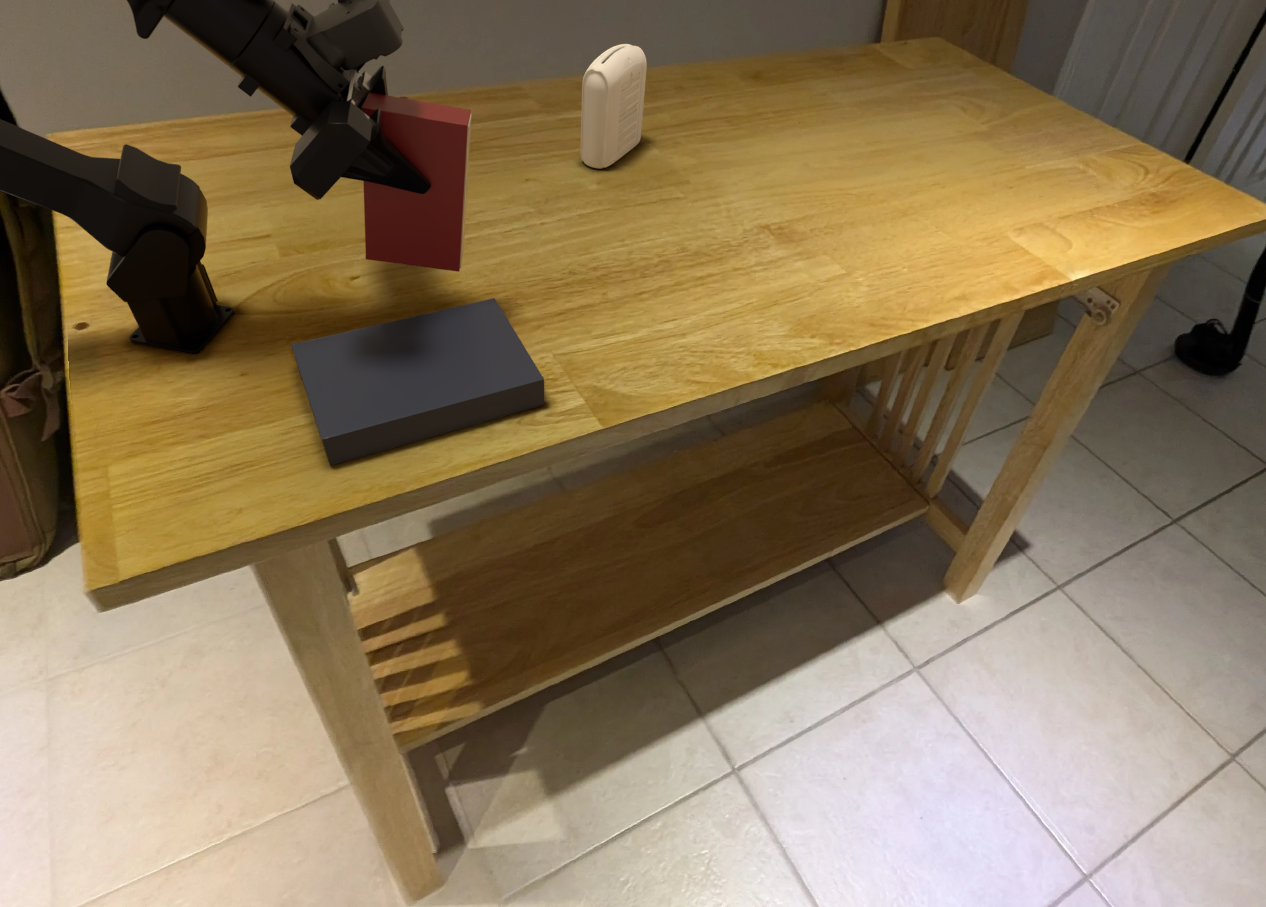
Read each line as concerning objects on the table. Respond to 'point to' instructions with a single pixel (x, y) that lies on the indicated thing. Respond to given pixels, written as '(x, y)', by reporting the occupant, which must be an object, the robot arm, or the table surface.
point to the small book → (413, 220)
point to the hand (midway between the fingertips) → (428, 177)
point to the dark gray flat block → (416, 378)
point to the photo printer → (612, 105)
